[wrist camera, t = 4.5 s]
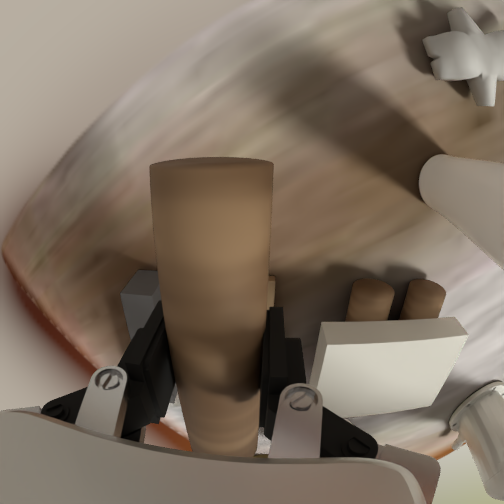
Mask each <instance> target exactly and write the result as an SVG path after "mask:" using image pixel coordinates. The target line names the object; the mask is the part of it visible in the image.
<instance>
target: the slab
mask: <svg viewBox="0 0 504 504" xmlns="http://www.w3.org/2000/svg"><path fill="white" fill-rule="evenodd" d="M467 337H468V333H467V332H466V331H465V329H464V328H463V327H462V325H461V324H460V323H459V322H458V320H457V319H456V318H455V317H446V318H432V319H416V320H395V321H363V322H321V327H320V332H319V338H318V343H317V348H316V353H315V358H314V363H313V368H312V372H311V377H310V381H309V385H311V386H313V387H315V388H316V389H318V390H319V391H320V393H321V394H322V398H323V406H324V407H325V408H327V409H329V410H330V411H332V412H333V413H335V414H336V415H338V416H340V417H341V418H348V417H359V416H368V415H377V414H384V413H392V412H398V411H405V410H410V409H416V408H421V407H427V406H431V405H432V403H433V401H434V400H435V398H436V396H437V395H438V393H439V391H440V390H441V388H442V386H443V384H444V383H445V381H446V379H447V377H448V375H449V374H450V372H451V370H452V368H453V366H454V364H455V362H456V360H457V358H458V356H459V354H460V352H461V350H462V348H463V346H464V344H465V342H466V339H467Z"/></svg>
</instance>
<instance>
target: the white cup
mask: <svg viewBox="0 0 504 504" xmlns="http://www.w3.org/2000/svg"><path fill="white" fill-rule="evenodd" d="M419 190H420V194H421V197H422V199H423V200H424V202H425V203H426V204H427V205H428V206H429V207H430V208H431V209H433V210H434V211H436V212H438V213H439V214H441V215H442V216H443V217H444V218H446V219H447V220H448V221H449V222H450V223H452V224H453V225H454V226H455V227H456V228H457V229H459V230H460V231H461V232H462V233H463V234H464V235H465V236H467V237H468V238H469V239H470V240H471V241H472V242H473V243H474V244H475V245H476V246H477V247H479V248H480V249H481V250H482V251H483V252H484V253H485V254H486V255H487V256H488V257H489V258H490V259H491V260H493V261H494V262H495V263H496V264H497V265H498V266H499V267H501V268H502V269H503V270H504V163H502V162H495V161H488V160H480V159H472V158H463V157H455V156H451V155H447V154H439V155H435V156H433V157H431V158H430V159H429V160H428V161H427V162H426V163H425V164H424V166H423V168H422V170H421V172H420V176H419Z"/></svg>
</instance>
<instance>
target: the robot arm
mask: <svg viewBox="0 0 504 504" xmlns="http://www.w3.org/2000/svg"><path fill="white" fill-rule="evenodd" d="M175 383H176V381H175V376H174V371H173V366H172V361H171V355H170V350H169V344H168V339H167V333H166V327H165V320H164V314H163V307H162V300H159V301H158V303H157V304H156V306H155V308H154V310H153V311H152V313H151V315H150V317H149V319H148V320H147V322H146V324H145V326H144V328H139V329H138V330H137V331H136V333H135V335H134V337H133V339H132V340H131V342H130V344H129V346H128V348H127V349H126V351H125V353H124V355H123V357H122V358H121V360H120V362H119V364H118V366H106V367H102V368H100V369H98V370H97V371H96V372H95V373H94V374H93V376H92V377H91V380H90V383H89V385H88V387H86V388H83V389H81V390H78V391H76V392H73V393H70V394H68V395H65V396H62V397H59V398H57V399H54V400H52V401H50V402H48V403H47V404H45V405H44V407H43V408H42V409H41V408H40V406H36V407H29V408H20V409H11V410H10V409H9V410H3V411H1V412H0V504H432V501H433V497H434V494H435V491H436V487H437V483H438V479H439V476H440V465H439V463H438V461H437V460H436V459H435V458H432V457H430V456H427V455H423V454H419V453H415V452H412V451H408V450H405V449H401V448H398V447H394V446H391V445H388V444H386V445H385V446H382V445H379V444H377V442H376V440H375V439H374V438H373V437H372V436H371V435H369V434H368V433H366V432H364V431H363V430H361V429H359V428H358V427H356V426H354V425H353V424H351V423H349V422H348V421H346V420H344V419H343V418H341V417H340V416H338V415H336V414H335V413H333V412H332V411H330V410H329V409H327V408H325V407H324V406H323V398H322V394H321V393H320V391H319V390H318V389H316V388H315V387H313V386H311V385H309V384H306V376H305V368H304V360H303V353H302V345H301V339H300V338H285V332H284V318H283V307H269V310H267V312H266V327H265V331H264V336H263V353H262V369H261V384H260V408H259V427H264V435H265V436H266V437H267V438H268V439H270V440H271V446H270V451H269V455H268V458H253V457H237V456H224V455H214V454H205V453H197V452H189V451H182V450H176V449H170V448H165V447H159V446H154V445H149V444H144V438H145V431H146V425H148V424H150V423H156V424H159V421H160V418H161V417H163V418H164V417H165V415H166V412H167V408H168V405H169V402H170V399H171V396H172V392H173V389H174V386H175ZM503 398H504V383H503V382H493V383H491V384H488V385H486V386H484V387H483V388H481V389H479V390H478V391H476V392H475V393H474V394H472V395H471V396H470V397H469V398H467V399H466V400H465V401H464V402H463V403H462V404H461V405H460V406H459V407H458V408H457V409H456V410H455V412H454V413H453V415H452V416H451V418H450V421H449V425H450V428H451V429H452V430H453V431H458V432H459V435H458V438H457V439H456V440H455V441H454V443H453V444H452V449H454V450H458V449H459V448H460V447H461V446H462V444H463V443H464V442H466V443H467V445H468V447H469V450H470V452H471V454H472V456H473V459H474V461H475V464H476V466H477V468H478V471H479V474H480V476H481V479H482V482H483V484H484V487H485V490H486V492H487V493H488V495H489V496H491V497H492V498H495V499H498V500H502V501H504V399H503Z"/></svg>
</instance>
